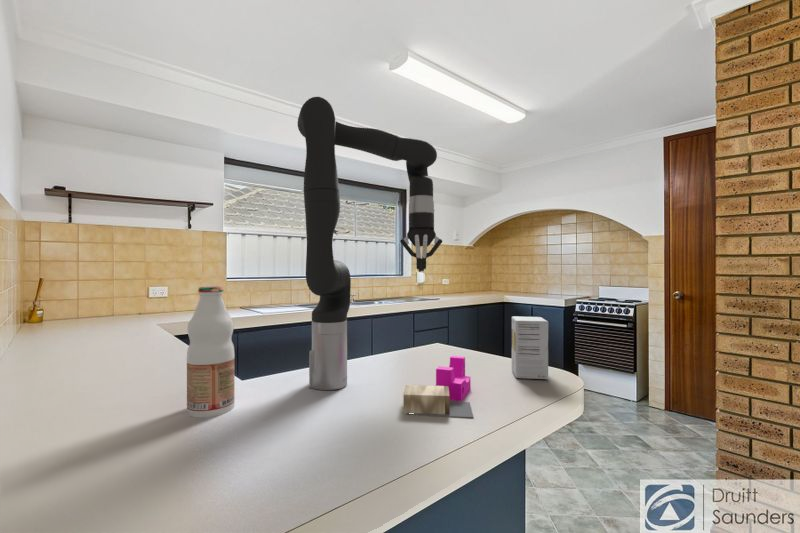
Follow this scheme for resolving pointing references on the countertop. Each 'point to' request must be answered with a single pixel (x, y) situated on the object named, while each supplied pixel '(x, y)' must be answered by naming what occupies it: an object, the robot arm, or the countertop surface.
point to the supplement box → (530, 347)
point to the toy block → (454, 378)
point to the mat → (454, 411)
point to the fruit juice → (210, 357)
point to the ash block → (426, 399)
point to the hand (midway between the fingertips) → (421, 271)
